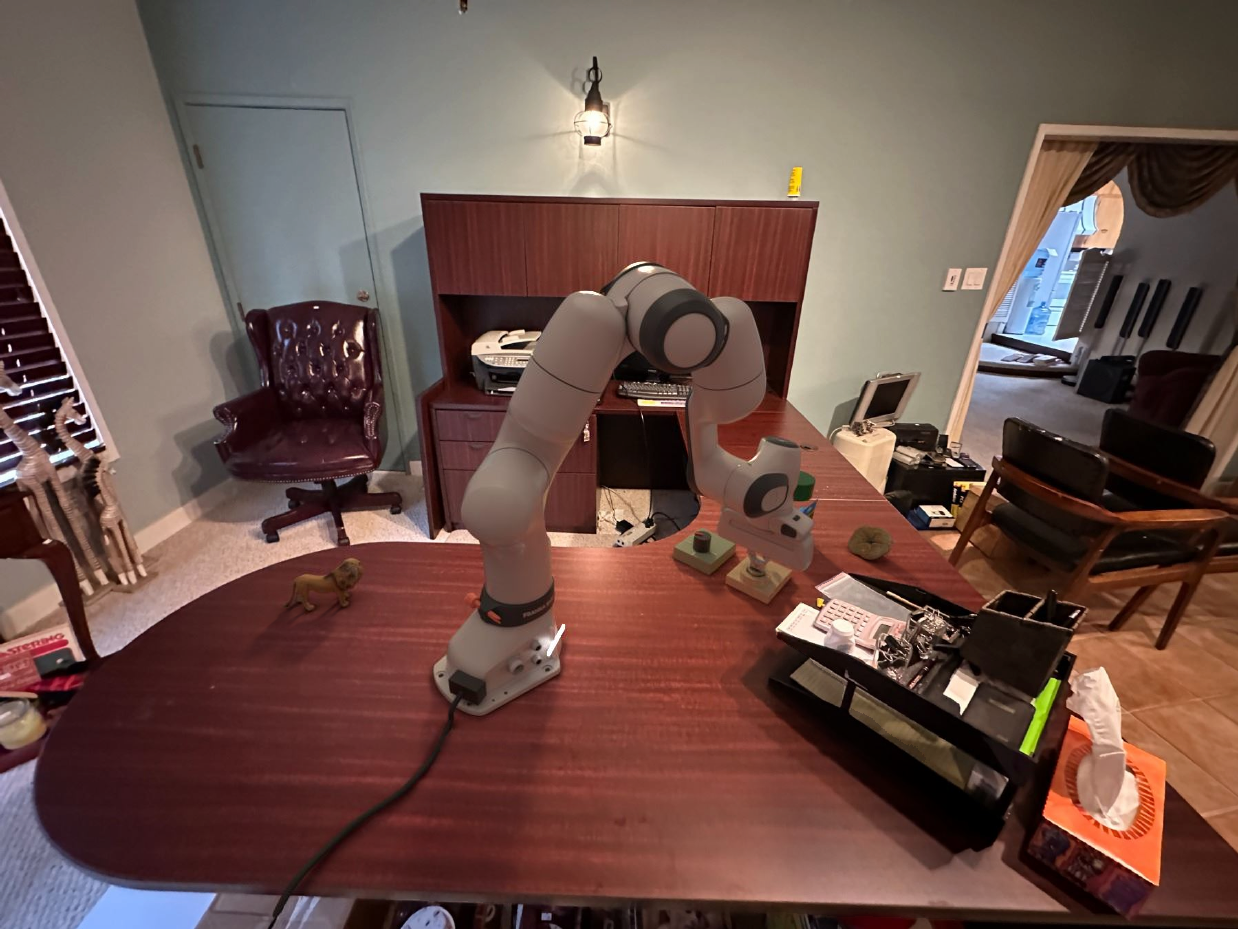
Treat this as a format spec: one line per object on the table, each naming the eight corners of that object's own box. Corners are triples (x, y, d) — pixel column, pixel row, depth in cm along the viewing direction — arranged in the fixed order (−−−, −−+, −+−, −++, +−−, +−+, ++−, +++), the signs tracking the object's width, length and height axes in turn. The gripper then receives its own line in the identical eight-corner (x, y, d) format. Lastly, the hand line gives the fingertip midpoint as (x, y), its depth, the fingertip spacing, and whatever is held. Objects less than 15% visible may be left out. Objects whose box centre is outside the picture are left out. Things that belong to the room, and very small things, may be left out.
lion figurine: (369, 587, 102) (362, 550, 99) (367, 603, 98) (359, 566, 94) (287, 601, 98) (276, 563, 94) (281, 619, 93) (269, 580, 89)
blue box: (793, 534, 128) (803, 492, 123) (808, 540, 126) (818, 498, 121) (778, 548, 122) (788, 504, 117) (794, 555, 120) (804, 510, 115)
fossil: (857, 520, 125) (898, 530, 117) (863, 528, 127) (903, 539, 119) (842, 550, 123) (882, 562, 115) (848, 558, 125) (888, 571, 117)
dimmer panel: (708, 575, 111) (710, 564, 110) (672, 557, 117) (673, 546, 115) (734, 553, 119) (736, 542, 118) (699, 537, 125) (701, 526, 124)
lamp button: (759, 582, 105) (760, 575, 104) (743, 575, 107) (744, 568, 106) (766, 574, 107) (767, 568, 106) (751, 567, 109) (752, 561, 109)
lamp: (784, 567, 108) (801, 492, 101) (751, 552, 113) (764, 479, 105) (804, 545, 117) (821, 474, 109) (773, 532, 121) (787, 463, 113)
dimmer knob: (710, 545, 117) (712, 531, 115) (708, 554, 113) (710, 540, 112) (694, 541, 118) (695, 528, 116) (691, 550, 114) (692, 537, 113)
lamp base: (767, 604, 103) (770, 588, 101) (724, 583, 109) (727, 568, 107) (790, 578, 111) (793, 563, 110) (750, 560, 117) (752, 545, 115)
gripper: (715, 500, 104) (707, 555, 110) (810, 537, 92) (796, 596, 98) (730, 490, 109) (722, 543, 114) (822, 524, 97) (808, 582, 103)
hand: (757, 568), depth 106 cm, fingers closed, pressing on lamp button
